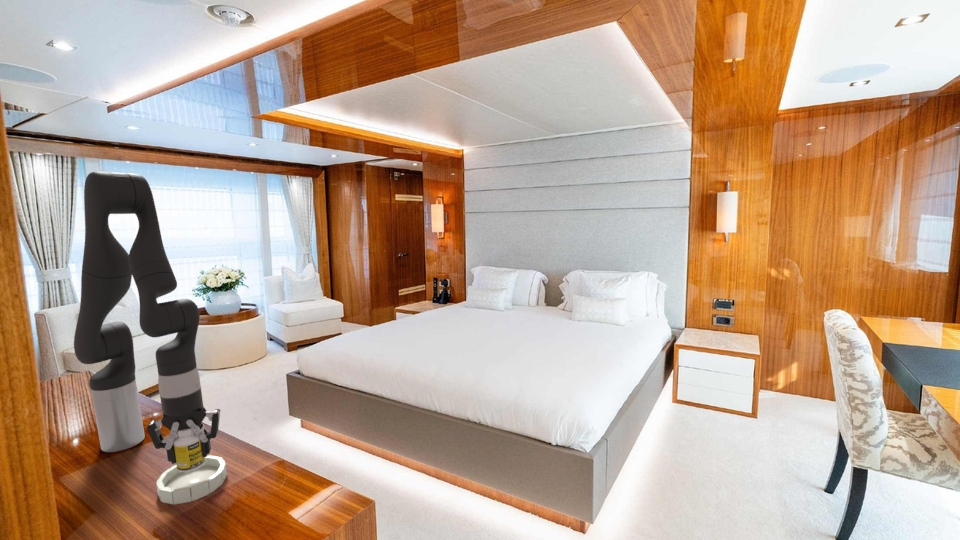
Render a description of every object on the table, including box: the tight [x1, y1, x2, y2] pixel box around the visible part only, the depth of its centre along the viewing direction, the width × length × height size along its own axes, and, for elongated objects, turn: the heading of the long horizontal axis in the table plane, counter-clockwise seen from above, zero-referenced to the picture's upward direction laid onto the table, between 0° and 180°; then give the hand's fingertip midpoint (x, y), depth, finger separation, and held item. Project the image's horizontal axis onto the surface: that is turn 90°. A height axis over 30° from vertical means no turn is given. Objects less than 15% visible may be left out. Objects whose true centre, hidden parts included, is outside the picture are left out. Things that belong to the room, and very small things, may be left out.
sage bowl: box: [155, 454, 228, 505], centre depth 100 cm, size 13×13×3 cm
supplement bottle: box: [174, 428, 205, 473], centre depth 99 cm, size 5×5×10 cm
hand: (190, 458), depth 99 cm, fingers closed on supplement bottle, 5 cm apart
